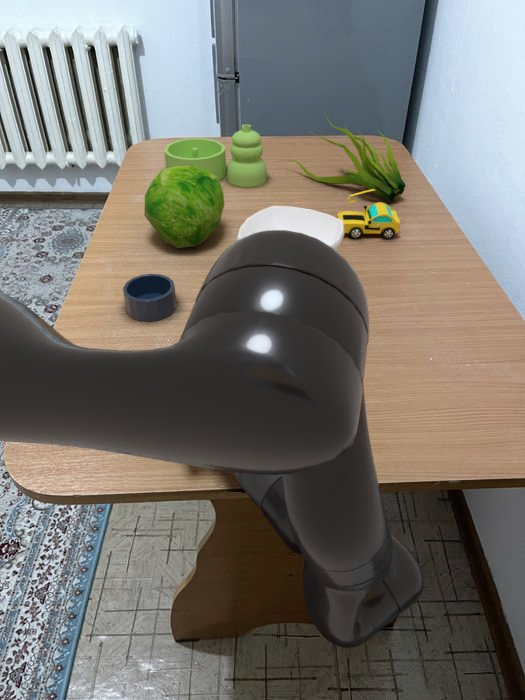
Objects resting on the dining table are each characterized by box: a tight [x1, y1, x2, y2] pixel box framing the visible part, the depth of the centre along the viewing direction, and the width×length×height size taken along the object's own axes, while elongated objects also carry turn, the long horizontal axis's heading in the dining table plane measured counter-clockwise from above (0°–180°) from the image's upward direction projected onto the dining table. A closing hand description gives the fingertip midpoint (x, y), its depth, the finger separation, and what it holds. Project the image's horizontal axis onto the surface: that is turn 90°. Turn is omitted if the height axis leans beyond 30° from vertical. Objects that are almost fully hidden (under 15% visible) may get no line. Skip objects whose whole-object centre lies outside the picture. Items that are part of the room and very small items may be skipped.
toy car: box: [336, 189, 401, 240], centre depth 113 cm, size 12×8×8 cm, turn 89°
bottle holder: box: [122, 273, 177, 323], centre depth 93 cm, size 8×8×4 cm
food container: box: [163, 123, 268, 188], centre depth 134 cm, size 25×15×13 cm, turn 74°
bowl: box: [235, 205, 345, 252], centre depth 99 cm, size 18×18×9 cm
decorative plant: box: [279, 110, 406, 203], centre depth 130 cm, size 18×30×15 cm, turn 23°
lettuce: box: [144, 166, 225, 249], centre depth 112 cm, size 15×22×15 cm
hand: (199, 373), depth 72 cm, fingers closed on pill bottle, 4 cm apart
